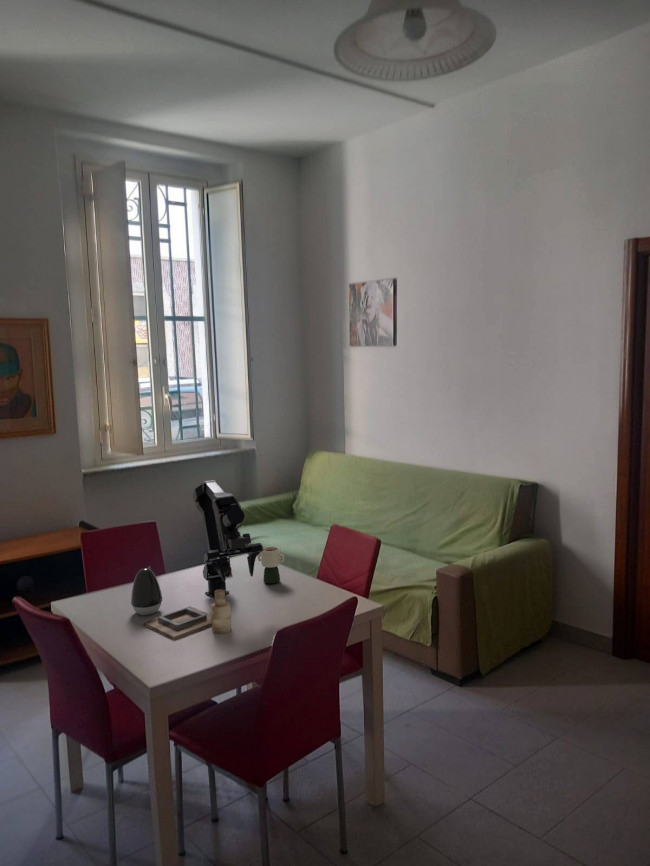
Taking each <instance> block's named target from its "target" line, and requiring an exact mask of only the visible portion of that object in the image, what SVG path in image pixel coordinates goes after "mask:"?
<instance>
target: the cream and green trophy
mask: <svg viewBox="0 0 650 866" xmlns="http://www.w3.org/2000/svg"><path fill="white" fill-rule="evenodd" d="M257 561H258V562H261V566H262V567H264V571H263V580H262V581H263V583H266V584H274V583H275V584H276V583H278V582H280V581H281V576H280V571H279V566H280V565H281V564H283V563H285V554H282V553H281V549H280V547H279V546H276V545H275V546H274V545H273V546H272V545H271V546H265V547H264V546H263V551H262V552H261V553H260V554H259V555H258V556H257Z"/></svg>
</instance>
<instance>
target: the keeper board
mask: <svg viewBox="0 0 650 866" xmlns="http://www.w3.org/2000/svg"><path fill="white" fill-rule="evenodd" d="M142 626H144V627H147V628H148V629H151V630H152V631H154V632H156V633H159V634H161V635H163V636H165V637H167V638H170V639H171V640H174V641H175V640H179V639H181V638H183V637H187V636H188V635H191V634H194V633H196V632H199V631H201V630H205V629H207V628H209V627H212V621H211V613H208V612H205V611H203V610H201V609H198V608H196V607H193V606H191V605H190V606H187V607H184V608H180V609H177V610H175V611H171V612H169V613H165V614H163V615H160V616H158V617H157V616H156V617H154V618H151V619H147V620H144V621H142Z"/></svg>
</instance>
